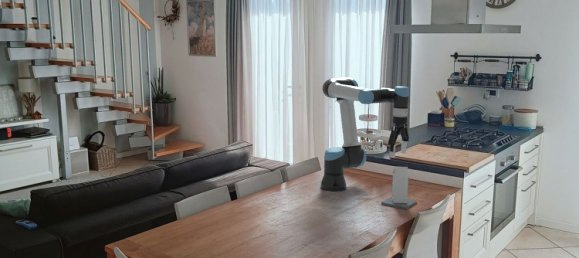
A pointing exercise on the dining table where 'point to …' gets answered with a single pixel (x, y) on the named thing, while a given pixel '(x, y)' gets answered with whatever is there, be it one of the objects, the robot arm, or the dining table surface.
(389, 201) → the slate board
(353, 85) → the robot arm
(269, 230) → the dining table surface
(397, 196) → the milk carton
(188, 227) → the dining table surface
